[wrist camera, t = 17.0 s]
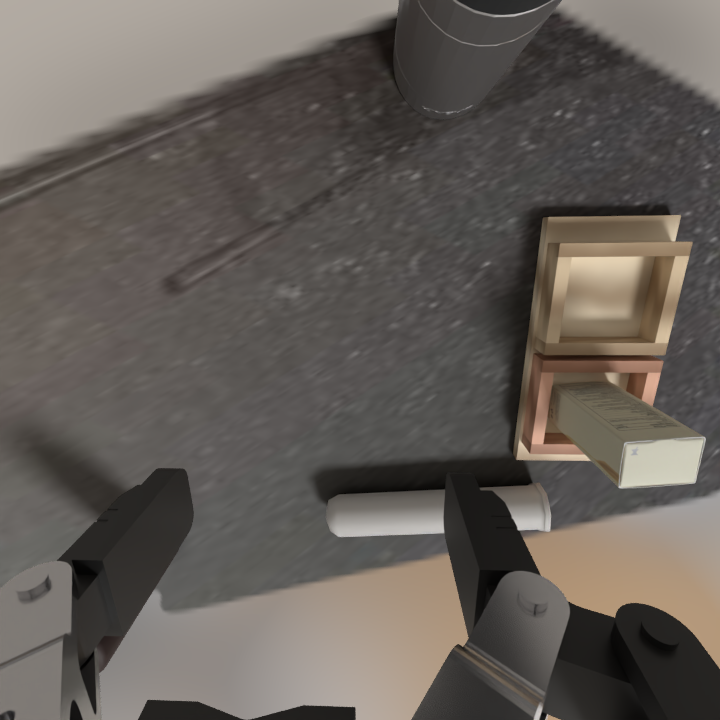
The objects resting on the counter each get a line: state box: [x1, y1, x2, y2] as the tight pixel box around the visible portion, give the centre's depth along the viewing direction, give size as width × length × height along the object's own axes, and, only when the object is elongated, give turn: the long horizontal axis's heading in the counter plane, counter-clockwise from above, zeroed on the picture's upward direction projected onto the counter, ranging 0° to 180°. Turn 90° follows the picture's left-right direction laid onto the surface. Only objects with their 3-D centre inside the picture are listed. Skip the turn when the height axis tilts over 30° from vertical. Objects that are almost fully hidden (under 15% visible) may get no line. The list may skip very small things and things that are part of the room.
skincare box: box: [549, 381, 706, 488], centre depth 35 cm, size 6×4×12 cm
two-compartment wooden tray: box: [513, 215, 693, 461], centre depth 39 cm, size 26×12×4 cm, turn 1°
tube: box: [326, 483, 551, 537], centre depth 45 cm, size 5×5×25 cm
